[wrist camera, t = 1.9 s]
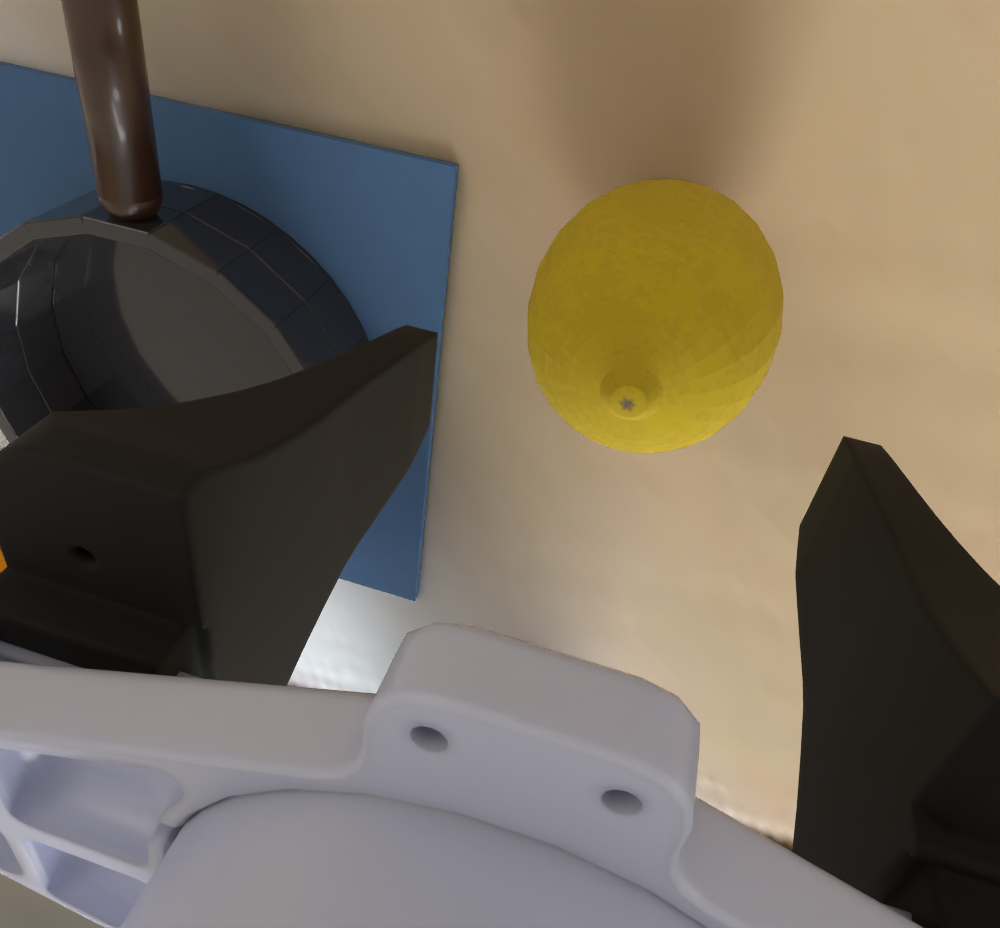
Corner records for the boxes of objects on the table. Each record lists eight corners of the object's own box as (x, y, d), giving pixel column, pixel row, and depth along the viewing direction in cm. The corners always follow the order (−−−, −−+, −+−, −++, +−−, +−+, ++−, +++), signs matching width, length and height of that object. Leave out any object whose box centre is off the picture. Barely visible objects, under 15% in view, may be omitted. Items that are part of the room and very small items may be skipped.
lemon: (530, 208, 22) (431, 341, 15) (724, 95, 19) (701, 202, 12) (627, 373, 24) (575, 550, 17) (816, 293, 21) (834, 470, 15)
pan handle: (178, 218, 22) (143, 238, 21) (126, 205, 22) (88, 224, 21) (129, -191, 17) (76, -197, 15) (60, -202, 17) (4, -209, 16)
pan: (379, 544, 31) (337, 615, 28) (88, 458, 32) (19, 516, 29) (395, 229, 23) (339, 280, 20) (11, 137, 25) (-93, 172, 22)
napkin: (417, 596, 32) (414, 601, 32) (62, 488, 34) (57, 492, 34) (458, 163, 21) (455, 166, 21) (-58, 48, 23) (-66, 50, 23)
